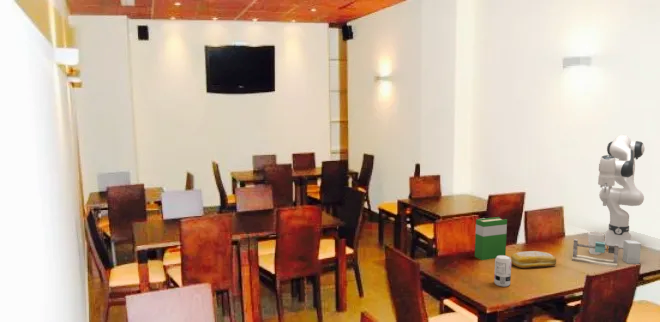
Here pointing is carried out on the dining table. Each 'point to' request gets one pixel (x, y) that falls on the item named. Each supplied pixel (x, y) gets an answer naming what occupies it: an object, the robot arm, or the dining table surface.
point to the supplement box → (631, 251)
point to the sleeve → (600, 247)
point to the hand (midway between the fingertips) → (604, 204)
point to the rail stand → (592, 259)
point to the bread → (532, 259)
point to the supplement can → (502, 270)
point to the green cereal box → (490, 238)
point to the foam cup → (593, 238)
